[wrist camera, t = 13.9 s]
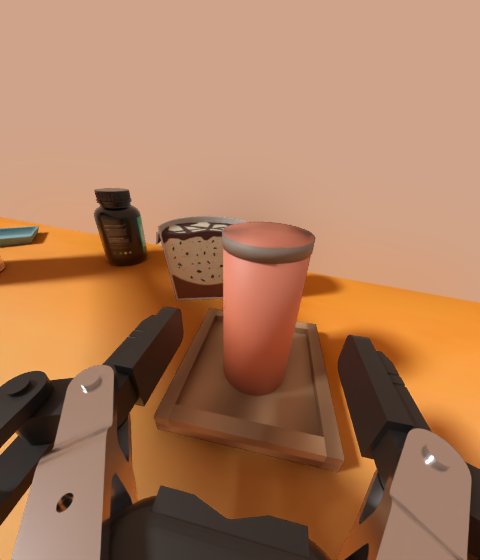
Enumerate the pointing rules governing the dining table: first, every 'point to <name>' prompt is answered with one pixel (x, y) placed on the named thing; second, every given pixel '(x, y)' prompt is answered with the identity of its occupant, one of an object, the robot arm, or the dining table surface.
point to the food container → (195, 255)
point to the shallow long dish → (17, 235)
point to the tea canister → (261, 300)
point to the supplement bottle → (120, 227)
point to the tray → (255, 402)
